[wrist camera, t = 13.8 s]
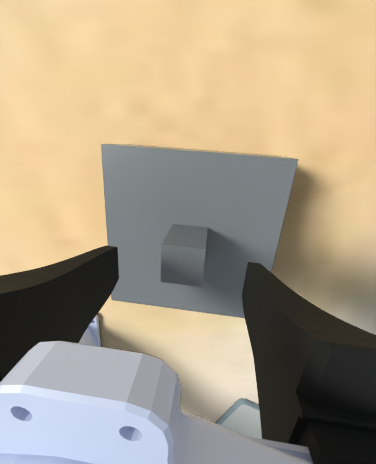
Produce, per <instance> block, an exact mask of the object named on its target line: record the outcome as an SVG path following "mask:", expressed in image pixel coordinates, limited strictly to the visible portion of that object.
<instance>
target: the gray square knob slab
mask: <svg viewBox="0 0 376 464" xmlns="http://www.w3.org/2000/svg"><path fill="white" fill-rule="evenodd" d="M101 151H102V166H103V180H104V195H105V210H106V225H107V239H108V246H115V247H118V267H119V279H118V282H117V284H116V286H115V288H114V290H113V291H112V293H111V298H112V300H115V301H123V302H130V303H137V304H145V305H152V306H159V307H167V308H174V309H181V310H189V311H196V312H203V313H211V314H218V315H226V316H233V317H240V318H245V316H244V311H243V302H242V290H243V285H244V280H245V275H246V269H247V264H248V262H254V263H260V264H262V265H263V266H264V267H265V268H266V269H267V270H269V271H270V272H271V271H272V266H273V262H274V258H275V254H276V250H277V246H278V241H279V237H280V233H281V229H282V225H283V221H284V216H285V212H286V208H287V204H288V200H289V196H290V191H291V187H292V183H293V179H294V175H295V171H296V166H297V162H298V159H294V158H287V157H281V156H271V155H258V154H245V153H232V152H219V151H206V150H193V149H181V148H168V147H155V146H142V145H129V144H101Z"/></svg>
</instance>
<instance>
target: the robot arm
mask: <svg viewBox="0 0 376 464" xmlns="http://www.w3.org/2000/svg"><path fill="white" fill-rule="evenodd" d="M118 279H119V267H118V247H115V246H103V247H100V248H97V249H94V250H92V251H89V252H86V253H84V254H81V255H78V256H76V257H73V258H70V259H67V260H64V261H61V262H58V263H55V264H52V265H48V266H45V267H41V268H37V269H33V270H28V271H23V272H18V273H13V274H8V275H2V276H0V464H376V335H374V334H371V333H369V332H366V331H364V330H362V329H360V328H357V327H355V326H353V325H351V324H348V323H346V322H344V321H342V320H340V319H338V318H336V317H334V316H332V315H331V314H329V313H327V312H325V311H323V310H321V309H320V308H318V307H316V306H315V305H313V304H311V303H310V302H308V301H307V300H305V299H304V298H302V297H301V296H299V295H298V294H297V293H295V292H294V291H293V290H291V289H290V288H289V287H287V286H286V285H285V284H284V283H282V282H281V281H280V280H279V279H278V278H276V277H275V276H274V275H273V274H272V273H271V272H270V271H269V270H267V269H266V268H265V267H264V266H263V265H262V264H260V263H254V262H248V264H247V269H246V275H245V280H244V285H243V290H242V302H243V311H244V316H245V320H246V325H247V329H248V333H249V338H250V342H251V346H252V351H253V356H254V364H255V372H256V381H257V390H258V399H259V410H260V421H261V433H262V439H259V438H254V437H248V436H244V435H242V434H239V433H237V432H235V431H232V430H230V429H227V428H225V427H223V426H220V425H218V424H215V423H213V422H211V421H208V420H206V419H203V418H201V417H198V416H196V415H194V414H191V413H189V412H186V411H184V410H182V409H181V408H180V396H181V386H180V382H179V379H178V375H177V373H176V372H175V371H174V370H173V369H171V368H170V367H169V366H168V365H167V364H166V363H165V362H164V361H163V360H161V359H159V358H156V357H153V356H150V355H147V354H144V353H138V352H131V351H125V350H118V349H112V348H105V347H101V342H100V332H99V322H98V315H97V313H98V312H99V311H100V309H101V308H102V306H103V305H104V303H105V302H106V301H107V299H108V298H109V296H110V295H111V293H112V291H113V290H114V288H115V286H116V284H117V282H118ZM93 320H94V321H93Z"/></svg>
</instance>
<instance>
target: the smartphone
mask: <svg viewBox="0 0 376 464" xmlns="http://www.w3.org/2000/svg"><path fill="white" fill-rule="evenodd" d="M215 424H218V425H220V426H223V427H225V428H227V429H230V430H232V431H235V432H237V433H239V434H242V435H244V436H248V437H254V438H259V439H262V433H261V421H260V410H259V405H258V404H256V403H254V402H252V401H250V400H247V399H239V400H237V401H236V402H235V403H234V404H233V405H232V406H231V407H230V408H229V409H228V410H227V412H226V413H225V414H224V415H223V416H222V417H221V418H220V419H219V420H218V421H217V422H216V423H215Z"/></svg>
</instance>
